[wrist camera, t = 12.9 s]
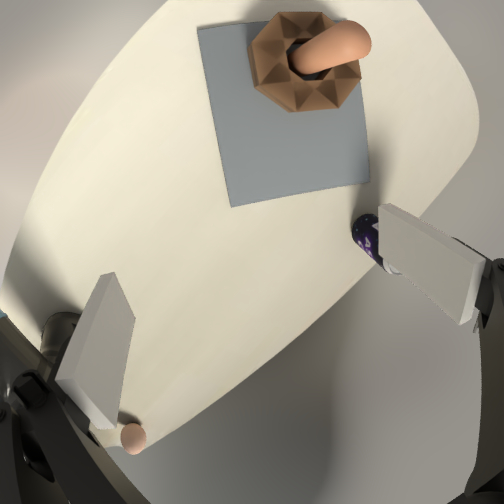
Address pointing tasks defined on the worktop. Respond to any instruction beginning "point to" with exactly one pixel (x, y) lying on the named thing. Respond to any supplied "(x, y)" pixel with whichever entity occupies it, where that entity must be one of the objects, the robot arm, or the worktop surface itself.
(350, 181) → the mat
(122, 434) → the egg
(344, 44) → the tan round-topped peg
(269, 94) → the bead
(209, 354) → the worktop surface
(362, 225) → the beverage can
